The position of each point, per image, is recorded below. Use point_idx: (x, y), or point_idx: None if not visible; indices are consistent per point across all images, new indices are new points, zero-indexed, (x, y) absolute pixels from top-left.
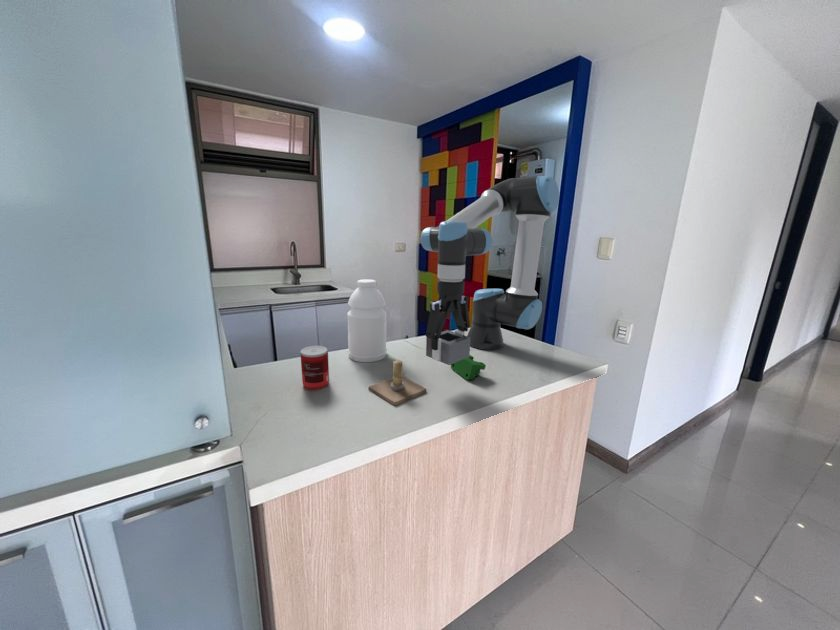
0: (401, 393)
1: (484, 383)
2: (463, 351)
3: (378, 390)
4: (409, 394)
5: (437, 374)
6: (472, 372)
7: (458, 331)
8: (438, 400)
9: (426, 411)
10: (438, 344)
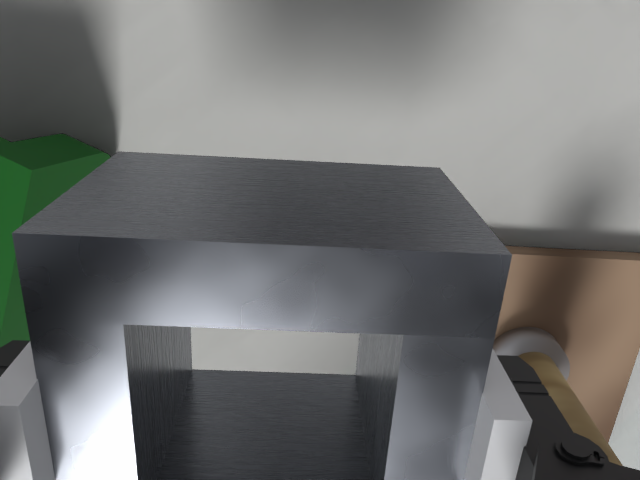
0: (562, 303)
1: (36, 53)
2: (209, 182)
3: (609, 397)
4: (543, 268)
5: (198, 334)
6: (61, 151)
7: (33, 458)
8: (453, 127)
9: (604, 93)
10: (503, 387)
